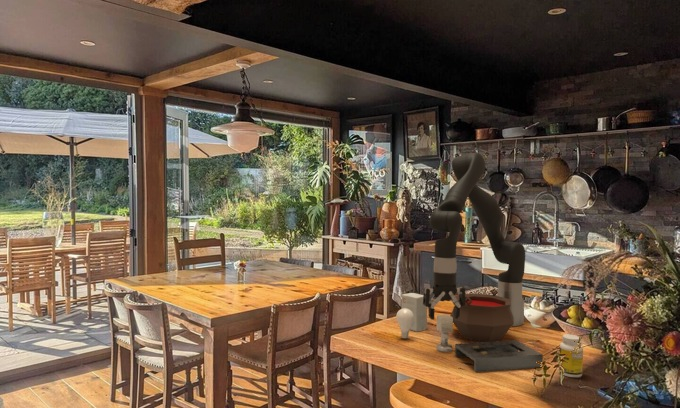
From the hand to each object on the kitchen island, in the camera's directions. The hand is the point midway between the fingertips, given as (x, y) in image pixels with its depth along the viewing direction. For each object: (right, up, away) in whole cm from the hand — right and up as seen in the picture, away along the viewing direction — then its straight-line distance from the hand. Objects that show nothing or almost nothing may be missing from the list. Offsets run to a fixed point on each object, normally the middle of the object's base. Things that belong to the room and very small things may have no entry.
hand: (443, 318), depth 156 cm
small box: (-6, -10, +25) cm, 28 cm away
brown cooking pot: (+17, -11, +16) cm, 26 cm away
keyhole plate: (+14, -11, -10) cm, 21 cm away
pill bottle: (+33, -12, -20) cm, 40 cm away
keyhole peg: (0, -11, 0) cm, 11 cm away
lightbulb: (-11, -11, +12) cm, 20 cm away
